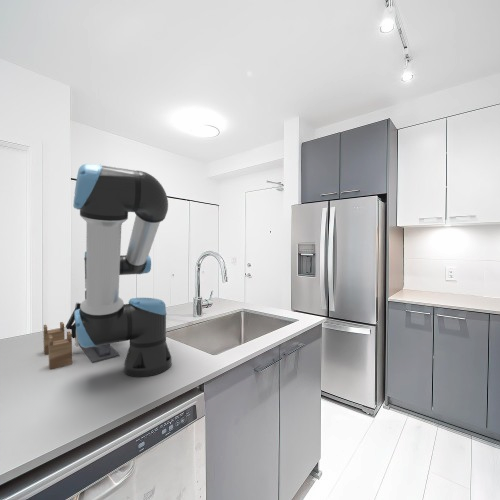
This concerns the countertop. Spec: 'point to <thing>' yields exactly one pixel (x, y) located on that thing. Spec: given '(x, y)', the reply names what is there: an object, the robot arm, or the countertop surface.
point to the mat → (94, 356)
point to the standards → (58, 347)
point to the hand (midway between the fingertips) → (96, 341)
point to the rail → (102, 350)
